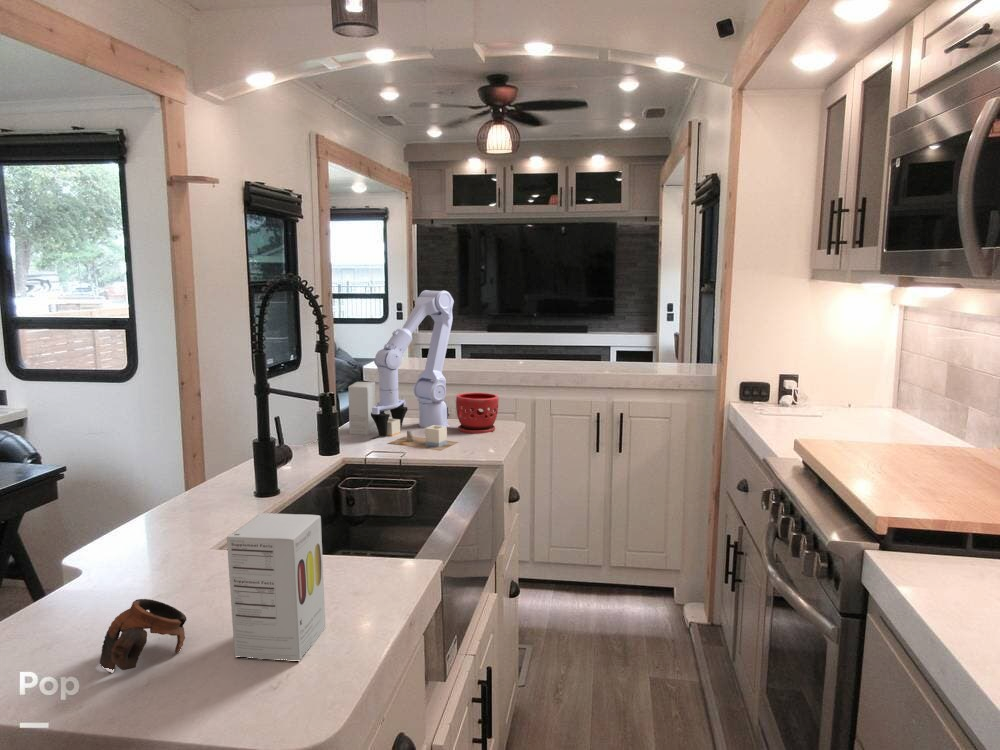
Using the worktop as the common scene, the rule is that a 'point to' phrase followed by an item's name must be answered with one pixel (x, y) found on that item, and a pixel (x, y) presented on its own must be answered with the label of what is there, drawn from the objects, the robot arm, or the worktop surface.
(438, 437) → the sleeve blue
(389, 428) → the cream square sleeve
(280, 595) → the supplement box
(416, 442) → the pin board
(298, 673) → the worktop surface
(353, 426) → the skincare box
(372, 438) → the mat
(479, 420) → the plant pot
